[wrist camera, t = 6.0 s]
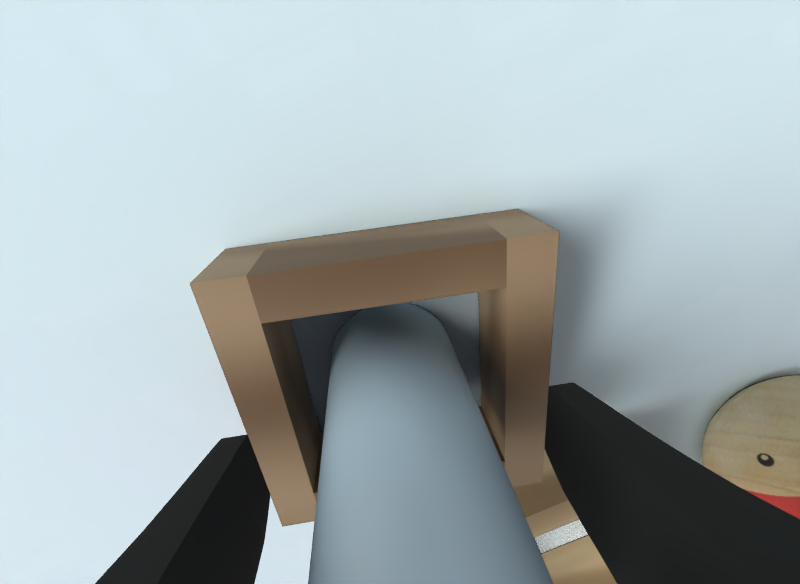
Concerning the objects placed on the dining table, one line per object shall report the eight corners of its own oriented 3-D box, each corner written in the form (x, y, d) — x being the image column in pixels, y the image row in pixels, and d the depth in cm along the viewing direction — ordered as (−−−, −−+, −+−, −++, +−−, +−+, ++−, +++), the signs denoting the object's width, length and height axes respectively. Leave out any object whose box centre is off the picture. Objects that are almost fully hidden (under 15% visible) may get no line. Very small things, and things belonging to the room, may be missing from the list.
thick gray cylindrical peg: (446, 398, 14) (547, 708, 6) (336, 405, 13) (311, 744, 6) (453, 299, 12) (600, 568, 5) (327, 305, 12) (281, 606, 4)
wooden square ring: (513, 426, 15) (541, 482, 12) (294, 461, 14) (282, 526, 12) (517, 208, 11) (559, 231, 9) (225, 248, 11) (189, 283, 8)
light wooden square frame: (634, 532, 18) (673, 590, 16) (475, 595, 19) (491, 658, 17) (594, 418, 15) (636, 471, 13) (402, 501, 16) (410, 565, 13)
